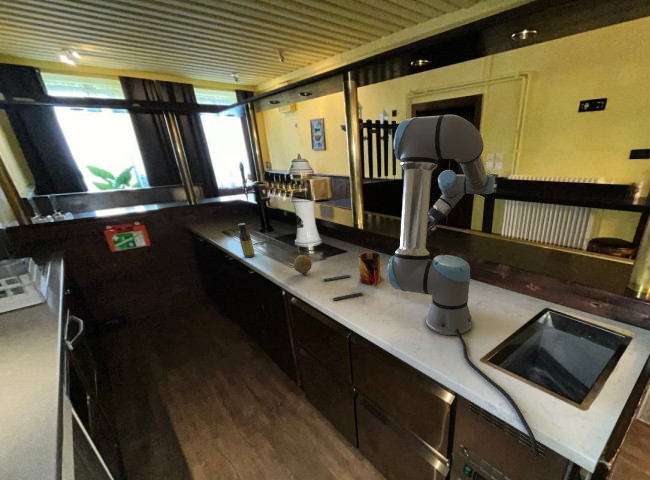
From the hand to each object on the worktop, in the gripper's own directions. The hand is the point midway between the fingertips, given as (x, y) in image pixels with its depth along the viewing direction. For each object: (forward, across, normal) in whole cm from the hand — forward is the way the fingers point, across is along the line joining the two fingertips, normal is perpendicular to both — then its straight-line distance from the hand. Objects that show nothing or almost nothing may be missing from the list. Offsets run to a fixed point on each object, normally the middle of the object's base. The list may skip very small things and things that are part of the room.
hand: (405, 252), depth 140 cm
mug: (+20, 0, +3) cm, 20 cm away
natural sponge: (+41, +24, +24) cm, 53 cm away
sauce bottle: (+60, +69, +44) cm, 101 cm away
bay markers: (+30, 0, +14) cm, 34 cm away
